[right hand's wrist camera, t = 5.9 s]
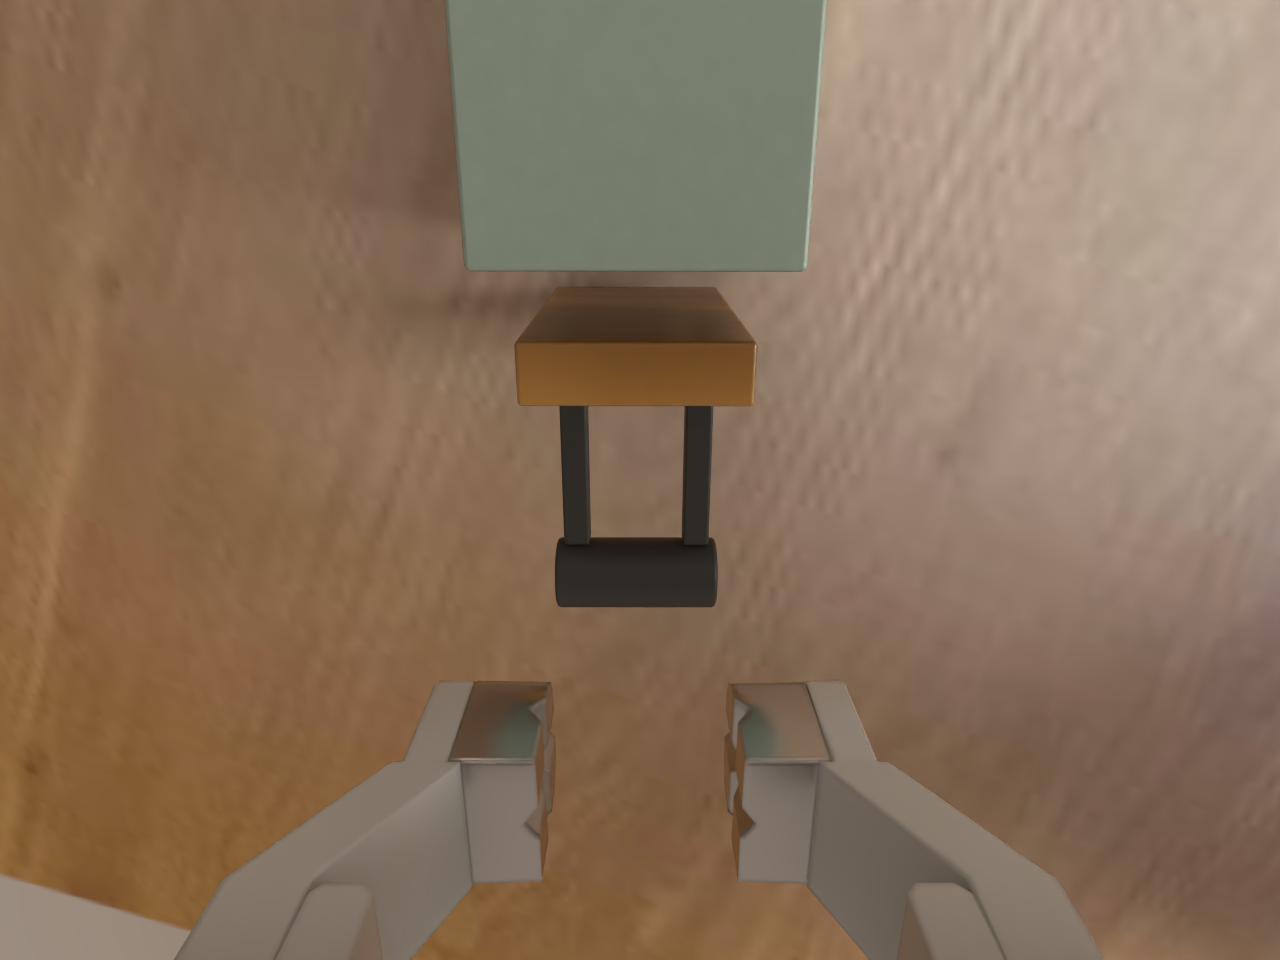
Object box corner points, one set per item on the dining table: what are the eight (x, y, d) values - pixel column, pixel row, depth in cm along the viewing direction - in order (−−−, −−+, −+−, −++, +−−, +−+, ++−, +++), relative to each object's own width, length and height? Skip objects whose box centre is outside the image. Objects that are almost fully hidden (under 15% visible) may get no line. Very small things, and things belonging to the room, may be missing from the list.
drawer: (708, 522, 24) (739, 675, 16) (565, 522, 24) (531, 676, 16) (742, -423, 16) (828, -933, 9) (531, -425, 16) (442, -934, 9)
